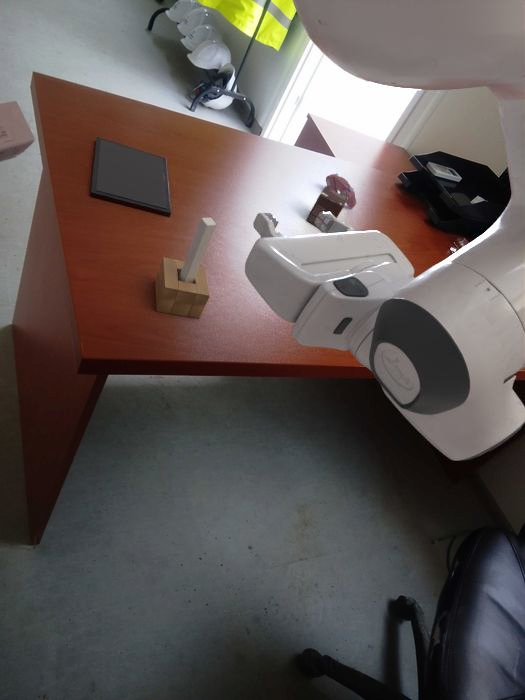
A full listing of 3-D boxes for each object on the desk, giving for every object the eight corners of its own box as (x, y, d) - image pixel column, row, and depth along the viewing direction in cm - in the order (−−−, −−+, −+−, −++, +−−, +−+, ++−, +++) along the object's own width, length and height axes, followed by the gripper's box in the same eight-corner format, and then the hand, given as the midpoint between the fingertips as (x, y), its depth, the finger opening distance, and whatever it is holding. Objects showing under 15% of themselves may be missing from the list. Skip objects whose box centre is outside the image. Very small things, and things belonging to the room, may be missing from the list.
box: (332, 224, 111) (348, 198, 106) (327, 233, 107) (343, 207, 102) (311, 211, 111) (326, 185, 106) (305, 220, 106) (320, 193, 102)
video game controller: (320, 192, 124) (324, 171, 118) (332, 185, 126) (337, 164, 120) (343, 215, 121) (349, 195, 115) (356, 207, 122) (362, 187, 116)
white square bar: (175, 304, 70) (207, 225, 60) (171, 297, 71) (201, 217, 61) (184, 302, 71) (216, 224, 61) (179, 295, 72) (210, 217, 62)
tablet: (169, 217, 85) (171, 212, 84) (90, 196, 79) (91, 191, 78) (164, 162, 97) (166, 157, 96) (95, 141, 91) (96, 136, 90)
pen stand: (156, 311, 67) (165, 287, 64) (155, 281, 72) (163, 256, 68) (199, 318, 70) (210, 295, 67) (195, 289, 74) (205, 266, 71)
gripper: (445, 273, 49) (365, 194, 54) (320, 298, 36) (230, 190, 41) (409, 313, 53) (338, 236, 58) (286, 348, 40) (208, 245, 45)
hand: (292, 217), depth 50 cm, fingers open, 8 cm apart
